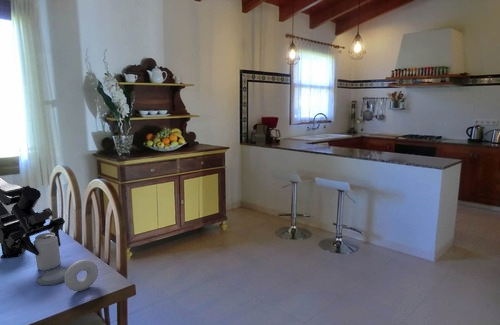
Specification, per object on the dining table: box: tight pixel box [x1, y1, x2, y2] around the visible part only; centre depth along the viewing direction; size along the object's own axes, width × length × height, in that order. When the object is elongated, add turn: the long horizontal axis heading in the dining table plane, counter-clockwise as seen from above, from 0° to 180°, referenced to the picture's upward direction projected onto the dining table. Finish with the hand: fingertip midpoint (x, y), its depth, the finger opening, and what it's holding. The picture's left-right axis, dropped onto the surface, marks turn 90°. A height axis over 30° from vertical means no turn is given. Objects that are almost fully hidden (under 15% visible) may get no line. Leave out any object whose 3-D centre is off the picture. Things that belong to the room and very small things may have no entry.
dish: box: [37, 267, 69, 287], centre depth 117 cm, size 10×10×1 cm
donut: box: [64, 258, 99, 292], centre depth 109 cm, size 10×4×10 cm, turn 136°
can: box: [32, 232, 61, 272], centre depth 124 cm, size 8×8×12 cm
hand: (49, 250), depth 123 cm, fingers open, 8 cm apart
